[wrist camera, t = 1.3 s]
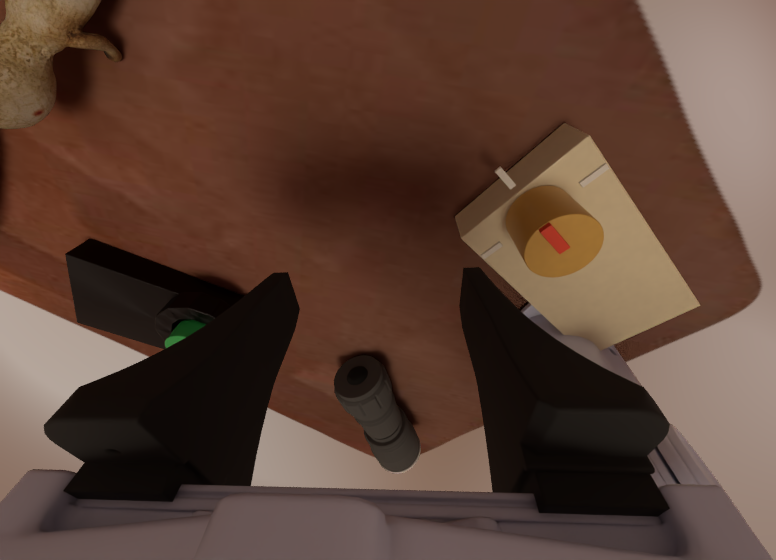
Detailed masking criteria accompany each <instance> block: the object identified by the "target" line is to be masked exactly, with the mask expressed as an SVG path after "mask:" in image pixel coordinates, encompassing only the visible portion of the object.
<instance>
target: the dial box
mask: <svg viewBox="0 0 776 560" xmlns="http://www.w3.org/2000/svg"><path fill="white" fill-rule="evenodd" d="M495 173H496V174H497V175H498V176H499V177H500V178H499V179H498V180H497V181H496V182H495V183H493V184H492V185H491V186H490V187H489V188H488V189H486V190H485V191H484V192H483V193H482V194H480V195H479V196H478V197H477V198H476V199H475V200H473V201H472V202H471V203H470V204H469V205H468V206H466V207H465V208H464V209H463V210H462V211H461V212H459V213H458V214H457V215H456V216H455V220H456V223H457V227H458V230H459V233H460V237H461V239H462V240H463V241H464V242H465V243H466V244H467V245H468V246H469V247H471V248H472V249H473V250H474V251H475V252H476V253H477V254H478V255H479V256H480V257H481V258H482V259H483V260H484V261H485V262H486V263H488V264H489V265H490V266H491V267H492V268H493V269H494V270H495V271H496V272H497V273H498V274H499V275H500V276H501V277H502V278H504V279H505V280H506V281H507V282H508V283H509V284H510V285H511V286H512V287H513V288H514V289H515V290H516V291H517V292H518V293H520V294H521V295H522V296H523V297H524V298H525V299H526V300H527V301H528V302H529V303H530V304H531V305H532V306H533V307H534V308H536V309H537V310H538V311H539V312H540V313H541V314H542V315H543V316H544V317H545V318H546V319H547V320H548V321H549V322H550V323H551V324H553V325H554V326H555V327H556V328H557V329H558V330H559V331H560V332H561V333H562V334H563V335H572V336H579V337H582V338H585V339H588V340H590V341H591V342H593V343H594V344H595V345H596V346H597V347H598V348H599V350H600V351H601V350H603V349H606V348H608V347H610V346H612V345H614V344H617V343H619V342H621V341H623V340H625V339H628V338H630V337H632V336H634V335H636V334H639V333H641V332H643V331H645V330H647V329H650V328H652V327H654V326H656V325H658V324H661V323H663V322H665V321H667V320H669V319H672V318H674V317H676V316H678V315H680V314H683V313H685V312H687V311H689V310H691V309H694V308H696V307H698V306H700V304H699V302H698V301H697V299H696V297H695V296H694V294H693V293H692V291H691V290H690V288H689V287H688V285H687V284H686V282H685V281H684V279H683V278H682V276H681V275H680V273H679V271H678V270H677V268H676V267H675V265H674V264H673V262H672V261H671V259H670V258H669V256H668V255H667V253H666V252H665V250H664V248H663V247H662V245H661V244H660V242H659V241H658V239H657V238H656V236H655V235H654V233H653V232H652V230H651V229H650V227H649V225H648V224H647V222H646V221H645V219H644V218H643V216H642V215H641V213H640V212H639V210H638V209H637V207H636V206H635V204H634V202H633V201H632V199H631V198H630V196H629V195H628V193H627V192H626V190H625V189H624V187H623V186H622V184H621V183H620V181H619V179H618V178H617V176H616V175H615V173H614V172H613V170H612V169H611V167H610V166H609V164H608V163H607V161H606V160H605V158H604V156H603V155H602V153H601V152H600V150H599V149H598V147H597V146H596V144H595V143H594V141H593V140H592V138H591V137H590V135H588V134H586V133H584V132H582V131H580V130H578V129H576V128H574V127H572V126H570V125H568V124H566V123H564V124H562V125H561V126H560V127H559V128H558V129H557V130H555V131H554V132H553V133H552V134H551V135H550V136H548V137H547V138H546V139H545V140H544V141H542V142H541V143H540V144H539V145H538V146H537V147H535V148H534V149H533V150H532V151H531V152H530V153H528V154H527V155H526V156H525V157H524V158H523V159H521V160H520V161H519V162H518V163H517V164H516V165H514V166H513V167H512V168H511V169H510V170H509V171H507V172H505V171H504V170H503V169H502V168H501V167H498V168H497V169H496V170H495ZM540 186H556V187H559V188H561V189H563V190H564V191H566V192H567V193H568V194H569V195H570V196H571V197H572V198H573V199H574V200H575V201H577V202H578V203H579V204H580V205H581V206H582V207H583V208H584V209H585V210H586V211H588V212H589V213H590V214H591V215H592V216H593V217H594V218H595V219H596V220H597V221H598V222H599V223H600V224H601V226H602V228H603V231H604V241H603V245H602V248H601V249H600V251H599V253H598V254H597V256H596V257H595V258H594V259H593V260H592V261H591V262H590V263H589V264H588V265H587V266H585V267H584V268H582V269H581V270H579V271H577V272H575V273H572V274H570V275H567V276H562V277H555V278H550V277H543V276H539V275H537V274H535V273H533V272H532V271H531V270H529V268H528V267H527V266H526V264H525V262H524V260H523V258H522V256H521V255H520V253H519V251H518V249H517V247H516V246H515V244H514V242H513V240H512V238H511V237H510V235H509V233H508V231H507V228H506V216H507V213H508V211H509V209H510V207H511V205H512V204H513V203H514V201H515V200H516V199H517V198H518V197H519V196H521V195H522V194H523V193H525V192H527V191H528V190H531V189H533V188H536V187H540Z"/></svg>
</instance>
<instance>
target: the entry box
mask: <svg viewBox="0 0 776 560" xmlns="http://www.w3.org/2000/svg"><path fill="white" fill-rule="evenodd" d="M65 255H66V261H67V267H68V272H69V278H70V284H71V289H72V295H73V300H74V306H75V312H76V317H77V322H78V323H81V324H84V325H87V326H91V327H94V328H97V329H100V330H104V331H107V332H110V333H113V334H117V335H120V336H123V337H126V338H130V339H133V340H136V341H139V342H143V343H146V344H149V345H152V346H156V347H159V348H162V349H166V347H165V340H166V339H167V337H168V336H169V335H170V334H171V332H172V331H173V330H174V329H175V327H176V326H177V325H178V324H179V323H180V322H181V321H183V320H186V319H192V320H195V321H198V322H201V323H204V324H206V325H207V324H208V323H210V322H211V321H212V320H214V319H215V318H217V317H218V316H219V315H221V314H222V313H223V312H225V311H226V310H227V309H229V308H230V307H231V306H233V305H234V304H235V303H237V302H238V301H239V300H240V299H242V298H243V297H244V296H243V295H241V294H238V293H235V292H232V291H230V290H227V289H224V288H222V287H219V286H216V285H214V284H211V283H208V282H206V281H203V280H200V279H197V278H195V277H192V276H189V275H187V274H184V273H181V272H179V271H176V270H173V269H171V268H168V267H165V266H162V265H160V264H157V263H154V262H152V261H149V260H146V259H144V258H141V257H138V256H136V255H133V254H130V253H127V252H125V251H122V250H119V249H117V248H114V247H111V246H109V245H106V244H103V243H101V242H98V241H95V240H92V239H88V240H87V241H85V242H84V243H82V244H80V245H79V246H77V247H76V248H74V249H72V250H71V251H69V252H67V253H66V254H65Z"/></svg>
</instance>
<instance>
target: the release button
mask: <svg viewBox="0 0 776 560" xmlns="http://www.w3.org/2000/svg"><path fill="white" fill-rule="evenodd" d="M205 325H206V324H204V323H201V322H198V321H195V320H192V319H186V320H183V321H181V322H180V323H179V324H178V325H177V326H176V327H175V329H174V330H173V331H172V332H171V334H170V335H169V336H168V337H167V339H166V340H165V347H166V348H168V347H170V346H171V345H173V344H175V343H177V342H179V341H181V340H182V339H184V338H186V337H188V336H189V335H191V334H192V333H194V332H196V331H197V330H199V329H200V328H202V327H204V326H205Z"/></svg>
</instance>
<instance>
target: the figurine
mask: <svg viewBox="0 0 776 560" xmlns="http://www.w3.org/2000/svg"><path fill="white" fill-rule="evenodd" d="M100 2H101V0H5V7H6V18H5V20H4V21H3V22H2V23H1V24H0V128H4V129H17V128H25V127H30V126H33V125H35V124H36V123H38V122H39V121H41V120H43V119H44V118H45V117H46V116H47V115H48V114H49V112H50V111H51V109H52V108H53V106H54V103H55V100H56V78H55V74H54V71H53V56H54V54H56V53H58V52H60V51H62V50H63V49H64V48H65V47H68V46H69V47H74V48H82V49H91V50H101V51H104V53H105V55H106V56H107V58H108V59H110V60H111V61H114V62H118V61H121V59H122V55H121V53H120V52H119V51H118V49H117V48H116V47H115V46H114V45H113V44H112V43H111V42H109V41H108V40H107V39H106V38H105V37H103V36H102V35H99V34H93V33H86V32H83V31H82V29H83V27H84V26H85V25H86V23H87V22H88V21H89V19H90V18H91V17H92V16H93V14H94V12H95V11H96V9H97V7H98V6H99V4H100Z"/></svg>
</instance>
